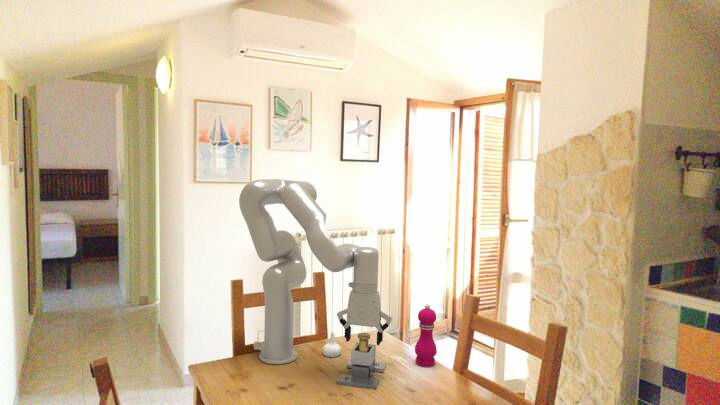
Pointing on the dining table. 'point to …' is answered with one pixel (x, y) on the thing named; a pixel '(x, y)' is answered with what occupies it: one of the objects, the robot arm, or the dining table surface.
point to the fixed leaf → (359, 377)
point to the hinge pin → (363, 341)
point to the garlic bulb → (332, 347)
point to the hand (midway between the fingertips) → (363, 341)
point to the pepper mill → (426, 338)
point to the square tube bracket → (365, 358)
